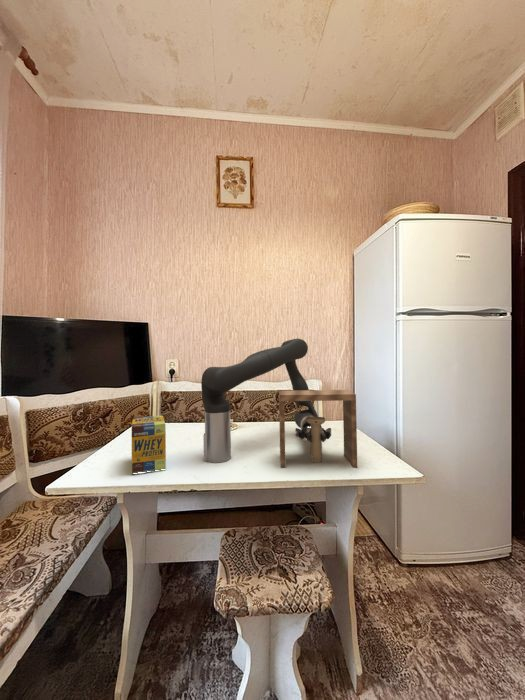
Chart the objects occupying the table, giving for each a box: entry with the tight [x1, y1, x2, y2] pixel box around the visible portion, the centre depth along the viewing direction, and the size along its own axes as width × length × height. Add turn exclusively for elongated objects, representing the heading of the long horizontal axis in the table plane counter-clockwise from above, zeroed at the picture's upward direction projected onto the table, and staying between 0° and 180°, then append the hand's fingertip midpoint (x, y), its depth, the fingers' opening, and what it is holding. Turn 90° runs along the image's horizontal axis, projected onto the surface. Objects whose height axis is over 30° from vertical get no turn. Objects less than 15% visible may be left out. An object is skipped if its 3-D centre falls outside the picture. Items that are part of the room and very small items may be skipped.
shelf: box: [278, 389, 358, 469], centre depth 103 cm, size 25×12×24 cm, turn 88°
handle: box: [306, 416, 326, 463], centre depth 103 cm, size 5×6×15 cm
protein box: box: [131, 415, 167, 474], centre depth 103 cm, size 10×15×16 cm
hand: (317, 439), depth 101 cm, fingers open, 3 cm apart
